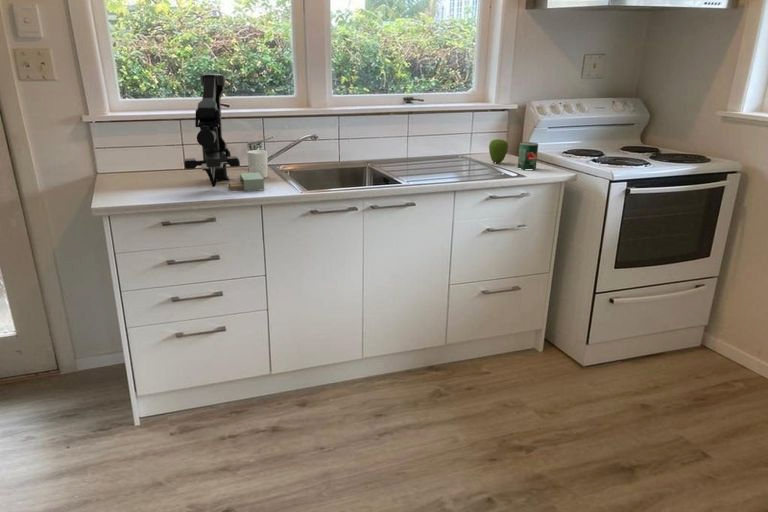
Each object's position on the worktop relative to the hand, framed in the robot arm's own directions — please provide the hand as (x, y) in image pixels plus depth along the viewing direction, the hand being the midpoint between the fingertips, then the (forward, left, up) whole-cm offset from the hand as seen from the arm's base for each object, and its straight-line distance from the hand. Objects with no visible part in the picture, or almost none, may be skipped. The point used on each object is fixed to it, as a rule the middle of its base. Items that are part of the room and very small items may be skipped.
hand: (213, 186), depth 211 cm
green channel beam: (0, +14, -1) cm, 14 cm away
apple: (-18, +127, -1) cm, 128 cm away
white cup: (-18, +19, -1) cm, 26 cm away
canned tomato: (-3, +133, -1) cm, 133 cm away
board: (0, +11, -2) cm, 11 cm away
